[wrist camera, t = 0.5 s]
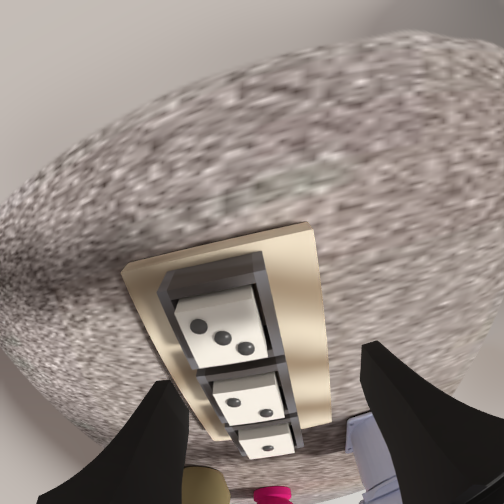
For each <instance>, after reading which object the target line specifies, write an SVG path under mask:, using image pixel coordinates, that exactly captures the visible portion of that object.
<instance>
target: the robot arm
mask: <svg viewBox="0 0 504 504" xmlns="http://www.w3.org/2000/svg"><path fill="white" fill-rule="evenodd" d="M360 382H361V385H362V389H363V392H364V395H365V398H366V401H367V403H368V406H369V408H370V410H371V412H369V413H366V414H363V415H359V416H356V417H353V418H350V419H348V421H347V432H346V446H345V452H346V453H351V452H353V453H354V456H355V460H356V463H357V466H358V470H359V473H360V477H361V480H362V483H363V486H364V487H365V489H366V493H363V494H362V495H363V498H364V500H361V501H360V502H359V504H504V419H502V418H499V417H496V416H493V415H490V414H487V413H485V412H482V411H480V410H477V409H475V408H473V407H470V406H468V405H466V404H464V403H462V402H460V401H458V400H456V399H454V398H453V397H451V396H449V395H448V394H446V393H444V392H443V391H441V390H440V389H438V388H436V387H435V386H434V385H432V384H431V383H429V382H428V381H426V380H425V379H424V378H422V377H421V376H420V375H418V374H417V373H416V372H414V371H413V370H412V369H411V368H409V367H408V366H407V365H406V364H404V363H403V362H402V361H401V360H399V359H398V358H397V357H396V356H395V355H394V354H392V353H391V352H390V351H389V350H388V349H387V348H386V347H384V346H383V345H382V344H381V343H380V342H379V341H373V342H370V343H367V344H363V345H362V352H361V370H360ZM188 434H189V410H188V408H187V407H186V405H185V403H184V402H183V400H182V399H181V397H180V395H179V394H178V392H177V390H176V389H175V387H174V385H173V384H172V382H171V380H162V381H156V382H155V383H154V385H153V386H152V387H151V389H150V390H149V392H148V393H147V395H146V396H145V397H144V399H143V400H142V402H141V403H140V405H139V406H138V407H137V409H136V410H135V412H134V413H133V414H132V416H131V417H130V419H129V420H128V421H127V423H126V424H125V425H124V426H123V428H122V429H121V430H120V431H119V433H118V434H117V435H116V436H115V438H114V439H113V440H112V441H111V442H110V444H109V445H108V446H107V447H106V448H105V449H104V450H103V451H102V452H101V453H100V454H99V455H98V456H97V457H96V458H95V459H94V460H93V461H92V462H90V463H89V464H88V465H87V466H86V467H85V468H83V469H82V470H81V471H80V472H79V473H77V474H76V475H74V476H73V477H72V478H70V479H69V480H67V481H66V482H64V483H63V484H61V485H59V486H58V487H56V488H54V489H52V490H50V491H48V492H47V493H44V494H42V495H40V496H39V497H38V500H37V503H36V504H182V477H183V470H184V463H185V456H186V449H187V442H188Z"/></svg>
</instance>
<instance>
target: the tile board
mask: <svg viewBox="0 0 504 504" xmlns="http://www.w3.org/2000/svg"><path fill="white" fill-rule="evenodd" d="M121 275H122V278H123V280H124V282H125V285H126V287H127V289H128V291H129V294H130V296H131V298H132V300H133V303H134V305H135V307H136V309H137V311H138V313H139V315H140V317H141V319H142V321H143V323H144V325H145V327H146V329H147V331H148V333H149V335H150V337H151V339H152V341H153V343H154V345H155V347H156V349H157V351H158V352H159V354H160V356H161V358H162V360H163V362H164V363H165V365H166V367H167V369H168V370H169V372H170V374H171V376H172V377H173V379H174V381H175V382H176V384H177V386H178V387H179V389H180V391H181V392H182V394H183V396H184V397H185V399H186V400H187V402H188V403H189V405H190V407H191V408H192V410H193V411H194V413H195V414H196V416H197V417H198V419H199V420H200V422H201V423H202V425H203V426H204V428H205V429H206V431H207V432H208V433H209V435H210V436H211V438H212V439H213V440H214V441H223V440H232V441H233V442H234V444H235V445H236V447H237V449H238V450H239V452H240V453H241V455H242V456H248V455H247V454H246V452H245V450H244V449H243V447H242V446H241V444H240V442H239V431H238V430H243V429H251V428H258V427H265V426H271V425H277V424H283V423H289V426H290V430H291V434H292V439H293V445H294V449H296V448H301V447H304V443H303V438H302V432H301V429H304V428H309V427H313V426H317V425H322V424H326V423H330V422H332V419H331V395H330V378H329V363H328V350H327V338H326V328H325V317H324V308H323V299H322V290H321V282H320V274H319V266H318V259H317V252H316V245H315V238H314V231H313V228H312V227H311V226H310V224H309V223H308V222H304V223H299V224H294V225H290V226H285V227H281V228H276V229H272V230H267V231H263V232H258V233H254V234H249V235H245V236H240V237H236V238H231V239H227V240H223V241H218V242H214V243H210V244H205V245H201V246H197V247H193V248H188V249H184V250H180V251H176V252H171V253H167V254H163V255H159V256H155V257H151V258H146V259H142V260H138V261H134V262H130V263H128V264H127V265H126V266H125V268H124V269H123V270H122V271H121ZM248 284H252V286H253V289H254V293H255V297H256V301H257V305H258V309H259V313H260V317H261V320H262V324H263V328H264V332H265V337H266V345H267V353H268V357H266V358H261V359H256V360H250V361H245V362H239V363H233V364H226V365H220V366H213V367H205V368H199V366H198V364H197V362H196V360H195V358H194V356H193V354H192V352H191V350H190V348H189V345H188V343H187V341H186V339H185V337H184V334H183V332H182V330H181V328H180V325H179V323H178V321H177V319H176V316H175V314H174V313H175V310H176V307H177V304H178V301H179V298H184V297H189V296H195V295H200V294H205V293H210V292H215V291H220V290H224V289H229V288H234V287H239V286H244V285H248ZM273 371H275V374H276V378H277V381H278V385H279V389H280V393H281V396H282V403H283V409H284V416H285V418H280V419H274V420H268V421H262V422H255V423H248V424H240V425H232V426H230V425H229V423H228V422H227V420H226V418H225V416H224V414H223V413H222V411H221V409H220V407H219V405H218V403H217V402H216V400H215V398H214V396H213V384H214V381H218V380H225V379H232V378H238V377H245V376H251V375H256V374H262V373H267V372H273Z"/></svg>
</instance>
